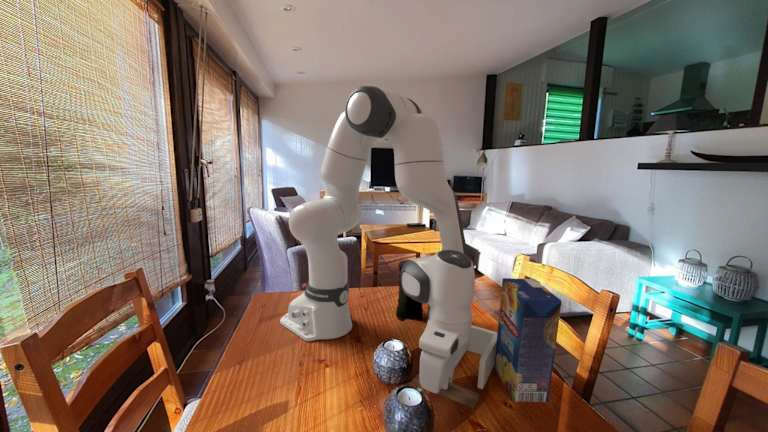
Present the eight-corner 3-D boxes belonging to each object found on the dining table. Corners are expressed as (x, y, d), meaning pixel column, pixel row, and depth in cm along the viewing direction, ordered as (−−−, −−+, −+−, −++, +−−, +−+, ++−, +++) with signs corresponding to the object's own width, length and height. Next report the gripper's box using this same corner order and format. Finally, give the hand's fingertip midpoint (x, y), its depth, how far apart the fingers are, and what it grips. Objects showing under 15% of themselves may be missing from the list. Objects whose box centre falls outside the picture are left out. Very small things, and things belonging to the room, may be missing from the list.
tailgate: (424, 372, 81) (411, 384, 75) (424, 368, 81) (412, 379, 75) (482, 394, 73) (473, 410, 68) (482, 390, 73) (473, 405, 68)
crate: (424, 371, 81) (426, 341, 79) (445, 344, 93) (447, 318, 91) (482, 394, 74) (485, 361, 72) (497, 362, 85) (500, 333, 84)
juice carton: (547, 407, 70) (562, 301, 66) (512, 407, 70) (524, 300, 66) (523, 371, 82) (534, 278, 78) (493, 370, 82) (502, 278, 78)
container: (408, 307, 115) (410, 257, 111) (429, 317, 108) (432, 264, 105) (389, 315, 108) (391, 262, 105) (410, 326, 102) (413, 270, 99)
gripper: (452, 305, 81) (449, 357, 84) (415, 344, 64) (411, 407, 67) (478, 312, 78) (474, 365, 80) (446, 355, 61) (441, 421, 63)
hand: (445, 385), depth 73 cm, fingers closed
